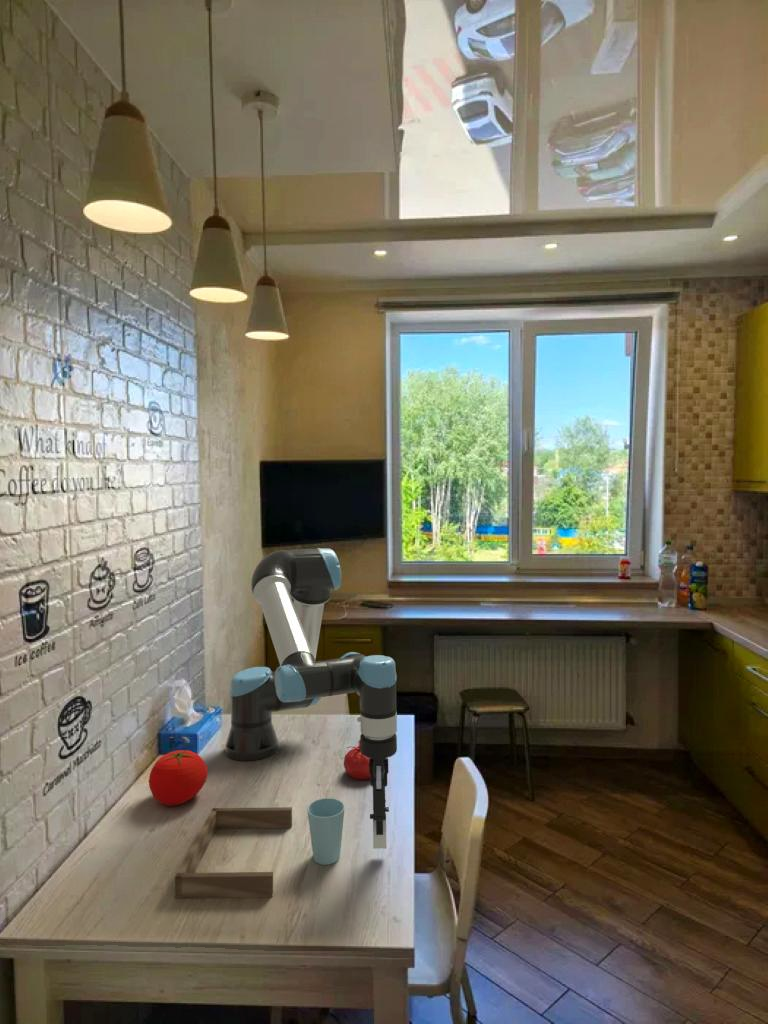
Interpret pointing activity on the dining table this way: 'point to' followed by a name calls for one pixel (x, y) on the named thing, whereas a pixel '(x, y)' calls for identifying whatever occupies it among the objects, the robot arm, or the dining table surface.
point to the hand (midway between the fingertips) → (379, 846)
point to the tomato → (177, 777)
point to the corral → (229, 882)
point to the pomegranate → (357, 764)
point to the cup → (326, 829)
